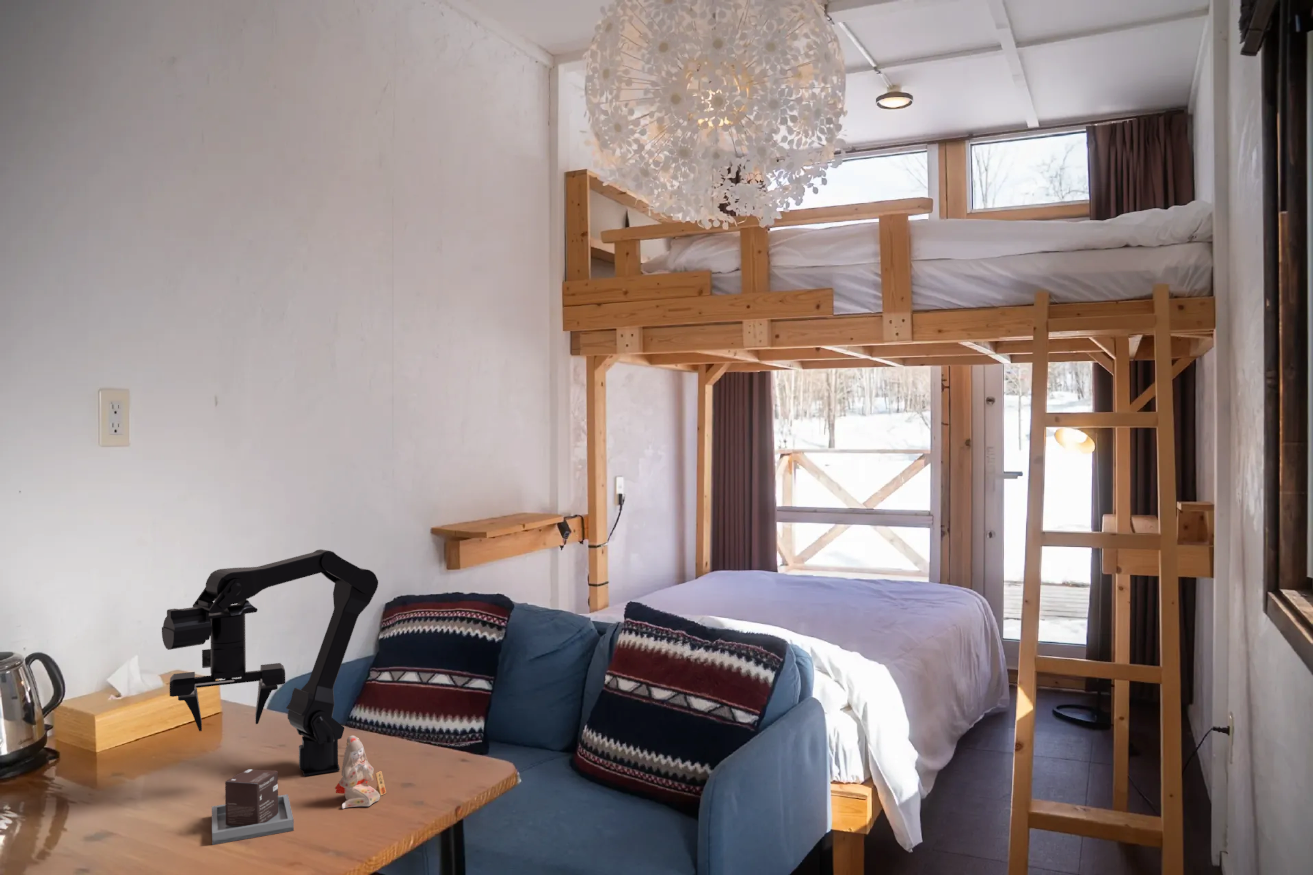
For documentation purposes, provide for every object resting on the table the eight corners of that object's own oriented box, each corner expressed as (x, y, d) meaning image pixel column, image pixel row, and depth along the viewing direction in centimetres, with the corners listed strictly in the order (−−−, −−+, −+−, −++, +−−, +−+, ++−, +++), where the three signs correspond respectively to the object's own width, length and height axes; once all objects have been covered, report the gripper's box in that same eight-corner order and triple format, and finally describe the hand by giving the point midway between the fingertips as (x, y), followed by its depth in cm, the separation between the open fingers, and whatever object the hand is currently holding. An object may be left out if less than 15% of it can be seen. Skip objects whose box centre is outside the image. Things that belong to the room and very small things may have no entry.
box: (257, 828, 154) (257, 783, 154) (224, 826, 155) (223, 781, 155) (279, 813, 160) (278, 770, 160) (246, 811, 161) (246, 768, 161)
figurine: (356, 813, 161) (345, 743, 162) (330, 811, 165) (320, 742, 165) (397, 793, 169) (386, 726, 169) (371, 791, 173) (361, 725, 173)
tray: (287, 804, 166) (287, 794, 166) (293, 830, 155) (293, 819, 155) (211, 816, 160) (211, 806, 160) (212, 844, 150) (212, 833, 150)
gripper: (280, 627, 182) (281, 708, 182) (171, 636, 174) (172, 721, 174) (285, 638, 172) (285, 724, 172) (169, 649, 164) (169, 739, 164)
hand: (228, 726), depth 171 cm, fingers open, 9 cm apart
